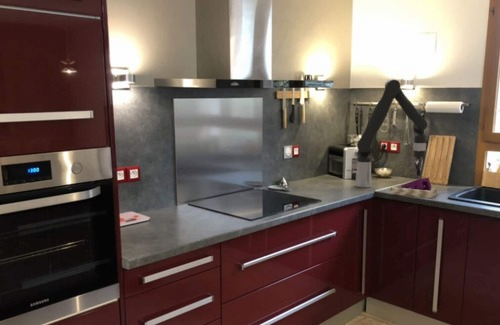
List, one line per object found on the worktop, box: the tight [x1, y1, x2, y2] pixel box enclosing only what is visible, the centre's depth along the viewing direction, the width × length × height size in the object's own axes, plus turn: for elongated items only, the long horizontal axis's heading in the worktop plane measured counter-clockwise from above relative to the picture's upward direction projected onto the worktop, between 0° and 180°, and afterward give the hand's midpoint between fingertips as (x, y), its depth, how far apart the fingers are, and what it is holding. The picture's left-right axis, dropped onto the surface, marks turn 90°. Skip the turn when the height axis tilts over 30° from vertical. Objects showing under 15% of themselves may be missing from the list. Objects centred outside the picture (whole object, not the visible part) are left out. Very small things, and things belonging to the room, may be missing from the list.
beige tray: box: [390, 186, 438, 199], centre depth 281 cm, size 25×14×4 cm, turn 59°
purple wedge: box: [400, 177, 432, 191], centre depth 289 cm, size 9×8×18 cm
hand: (418, 175), depth 298 cm, fingers closed
